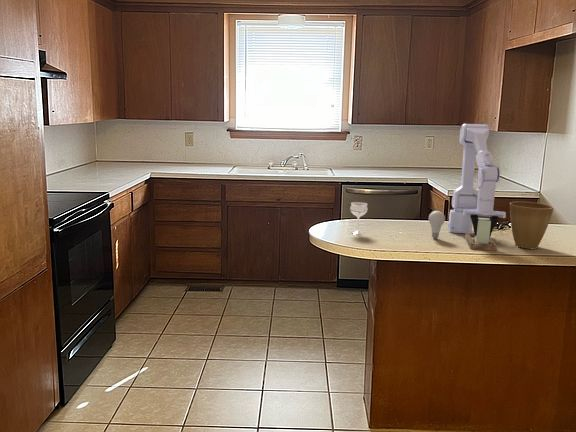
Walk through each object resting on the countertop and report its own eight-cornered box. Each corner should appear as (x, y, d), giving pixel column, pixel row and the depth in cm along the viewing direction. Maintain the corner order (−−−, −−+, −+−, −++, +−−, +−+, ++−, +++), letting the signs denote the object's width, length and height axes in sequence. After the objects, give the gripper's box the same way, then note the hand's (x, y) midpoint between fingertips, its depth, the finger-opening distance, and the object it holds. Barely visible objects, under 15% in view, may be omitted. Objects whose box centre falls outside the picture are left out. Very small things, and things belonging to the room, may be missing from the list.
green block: (475, 244, 203) (478, 220, 201) (474, 241, 207) (476, 217, 205) (488, 244, 202) (491, 220, 200) (486, 242, 206) (489, 218, 204)
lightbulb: (432, 235, 219) (434, 208, 217) (446, 238, 215) (448, 211, 213) (423, 238, 215) (426, 210, 213) (437, 241, 211) (440, 213, 208)
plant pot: (553, 253, 198) (559, 209, 195) (510, 250, 201) (515, 207, 197) (541, 243, 213) (546, 202, 210) (501, 240, 215) (505, 200, 212)
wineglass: (358, 235, 216) (359, 205, 213) (345, 232, 221) (346, 202, 218) (369, 233, 220) (371, 203, 218) (356, 230, 225) (358, 201, 223)
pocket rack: (470, 248, 201) (470, 243, 201) (464, 237, 218) (465, 232, 217) (495, 250, 200) (495, 245, 199) (487, 239, 216) (488, 234, 216)
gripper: (466, 199, 198) (462, 236, 201) (509, 202, 196) (504, 239, 198) (464, 196, 205) (460, 232, 208) (505, 199, 202) (501, 235, 205)
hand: (482, 235), depth 204 cm, fingers closed on green block, 4 cm apart
